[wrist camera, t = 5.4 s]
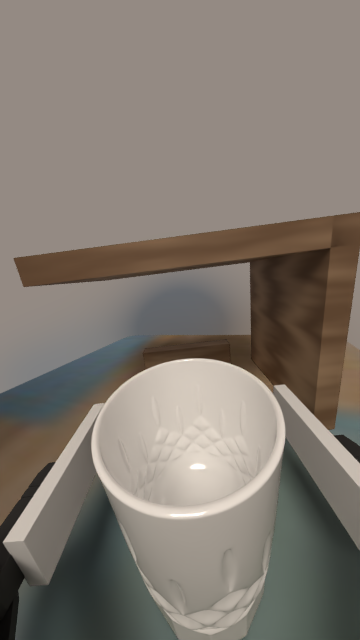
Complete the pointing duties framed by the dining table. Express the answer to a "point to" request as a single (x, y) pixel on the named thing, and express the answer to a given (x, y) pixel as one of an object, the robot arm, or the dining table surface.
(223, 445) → the white cup
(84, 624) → the dining table surface
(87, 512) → the dining table surface
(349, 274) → the walnut shelf
